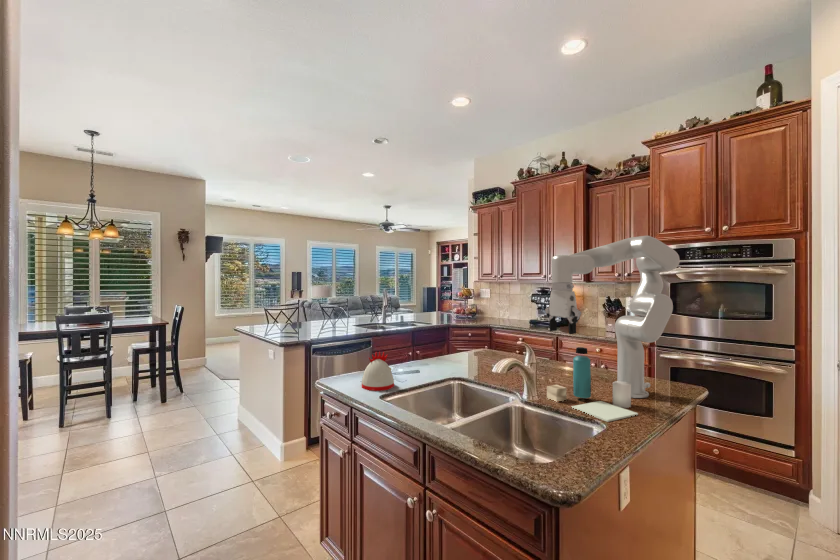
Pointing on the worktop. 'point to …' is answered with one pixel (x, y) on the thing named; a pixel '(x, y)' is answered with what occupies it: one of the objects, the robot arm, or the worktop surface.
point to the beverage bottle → (581, 374)
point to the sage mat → (605, 411)
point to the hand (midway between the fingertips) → (562, 332)
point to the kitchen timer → (377, 374)
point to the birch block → (556, 393)
